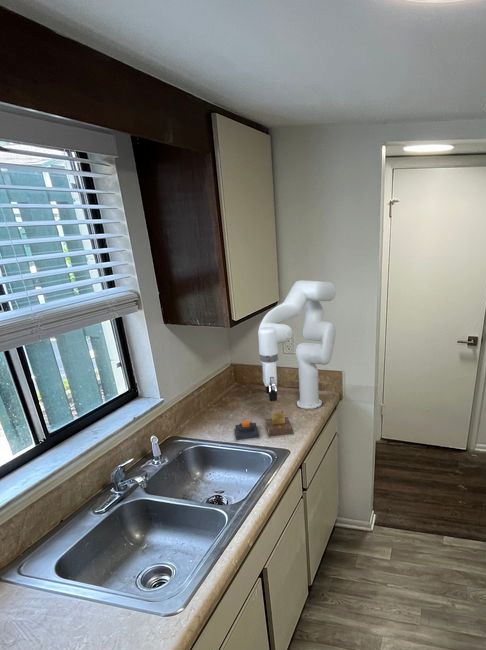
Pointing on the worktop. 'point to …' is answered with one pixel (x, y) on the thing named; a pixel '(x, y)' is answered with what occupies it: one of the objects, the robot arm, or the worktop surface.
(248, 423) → the bell button
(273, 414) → the lock knob
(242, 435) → the doorbell
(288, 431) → the plate
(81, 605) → the worktop surface
